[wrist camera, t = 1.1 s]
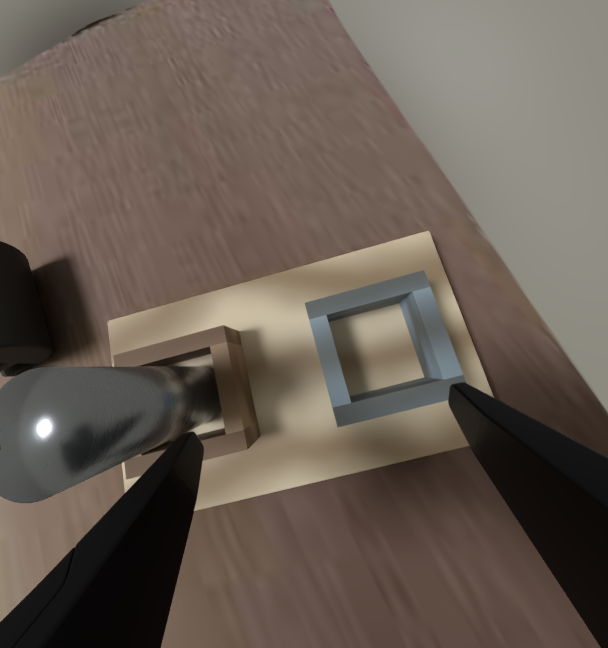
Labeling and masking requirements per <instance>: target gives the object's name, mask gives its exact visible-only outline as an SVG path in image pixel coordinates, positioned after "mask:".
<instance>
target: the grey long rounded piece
mask: <svg viewBox="0 0 608 648" xmlns="http://www.w3.org/2000/svg"><path fill="white" fill-rule="evenodd" d="M221 411H222V410H221V404H220V399H219V393H218V388H217V382H216V377H215V371H214V369H212V368H210V367H206V366H135V367H39V368H34V369H31V370H28V371H25V372H23V373H21V374H19V375H17V376H16V377H14V378H12V379H11V380H10V381H9V382H7V383H6V384H5V385H4V386H3V387H2V388H1V389H0V496H1V497H3V498H5V499H7V500H10V501H13V502H18V503H33V502H38V501H41V500H44V499H47V498H49V497H51V496H53V495H55V494H57V493H59V492H62V491H64V490H66V489H68V488H70V487H72V486H74V485H76V484H78V483H81V482H83V481H85V480H87V479H89V478H91V477H93V476H95V475H97V474H99V473H102V472H104V471H106V470H108V469H110V468H112V467H114V466H116V465H118V464H121V463H123V462H125V461H127V460H129V459H131V458H133V457H135V456H137V455H140V454H142V453H144V452H146V451H148V450H150V449H152V448H154V447H156V446H158V445H161V444H163V443H165V442H167V441H169V440H171V439H173V438H175V437H177V436H180V435H181V434H182V433H185V432H188V431H190V430H192V429H194V428H196V427H199V426H201V425H203V424H205V423H207V422H209V421H211V420H213V419H214V418H215V417H217V416H218V414H219V413H220V412H221Z"/></svg>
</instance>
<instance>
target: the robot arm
mask: <svg viewBox="0 0 608 648" xmlns="http://www.w3.org/2000/svg"><path fill="white" fill-rule="evenodd" d="M448 404H449V407H450V409H451V411H452V413H453V415H454V417H455V419H456V421H457V423H458V425H459V426H460V428H461V430H462V432H463V434H464V436H465V438H466V440H467V442H468V444H469V446H470V447H471V449H472V451H473V453H474V454H475V456H476V458H477V459H478V461H479V462H480V464H481V465H482V467H483V468H484V470H485V471H486V473H487V474H488V476H489V478H490V479H491V481H492V482H493V484H494V485H495V487H496V488H497V490H498V491H499V493H500V494H501V496H502V497H503V499H504V500H505V502H506V503H507V505H508V507H509V508H510V510H511V511H512V513H513V514H514V516H515V517H516V519H517V520H518V522H519V523H520V525H521V526H522V528H523V529H524V531H525V532H526V534H527V535H528V537H529V539H530V540H531V542H532V543H533V545H534V546H535V548H536V549H537V551H538V552H539V554H540V555H541V557H542V558H543V560H544V561H545V563H546V564H547V566H548V568H549V569H550V571H551V572H552V574H553V575H554V577H555V578H556V580H557V581H558V583H559V584H560V586H561V587H562V589H563V590H564V592H565V593H566V595H567V597H568V598H569V600H570V601H571V603H572V604H573V606H574V607H575V609H576V610H577V612H578V613H579V615H580V616H581V618H582V619H583V621H584V622H585V624H586V625H587V627H588V629H589V630H590V632H591V633H592V635H593V636H594V638H595V639H596V641H597V642H598V644H599V645H600V647H601V648H608V457H606V456H604V455H602V454H600V453H598V452H596V451H594V450H592V449H591V448H589V447H587V446H585V445H583V444H581V443H579V442H577V441H575V440H573V439H572V438H570V437H568V436H566V435H564V434H562V433H560V432H558V431H556V430H554V429H553V428H551V427H549V426H547V425H545V424H543V423H541V422H539V421H537V420H535V419H534V418H532V417H530V416H528V415H526V414H524V413H522V412H520V411H518V410H516V409H515V408H513V407H511V406H509V405H507V404H505V403H503V402H501V401H499V400H497V399H496V398H494V397H492V396H490V395H488V394H486V393H484V392H482V391H480V390H478V389H477V388H475V387H473V386H471V385H469V384H467V383H464V382H460V383H454V384H451V385H450V389H449V398H448ZM203 456H204V446H203V444H202V442H201V441H200V439H199V438H198V436H197V435H196V433H195V432H193V431H191V432H185V433H182V434H181V435H180V436H179V437H178V438H177V439H176V440H175V441H174V442H173V443H172V444H171V445H170V446H169V447H168V448H167V449H166V450H165V451H164V452H163V453H162V455H161V456H160V457H159V458H158V459H157V460H156V461H155V462H154V463H153V464H152V465H151V466H150V467H149V468H148V469H147V470H146V471H145V473H144V474H143V475H142V476H141V477H140V478H139V479H138V480H137V481H136V482H135V483H134V484H133V485H132V486H131V487H130V488H129V489H128V491H127V492H126V493H125V494H124V495H123V496H122V497H121V498H120V499H119V500H118V501H117V502H116V503H115V504H114V505H113V506H112V507H111V509H110V510H109V511H108V512H107V513H106V514H105V515H104V516H103V517H102V518H101V519H100V520H99V521H98V522H97V523H96V524H95V525H94V526H93V528H92V529H91V530H90V531H89V532H88V533H87V534H86V535H85V536H84V537H83V538H82V539H81V540H80V541H79V542H78V543H77V545H76V547H75V548H73V549H72V550H71V551H70V552H69V553H68V554H67V555H66V556H65V557H64V558H63V559H62V560H61V561H60V562H59V563H58V564H57V566H56V567H55V568H54V569H53V570H52V571H51V572H50V573H49V574H48V575H47V576H46V577H45V578H44V579H43V580H42V581H41V582H40V583H39V584H38V585H37V586H36V587H35V588H34V589H33V590H32V591H31V592H30V593H29V594H28V595H27V596H26V597H25V598H24V599H23V600H22V601H21V602H20V603H19V604H18V605H17V606H16V607H15V608H14V609H13V610H12V611H11V612H10V613H9V614H8V615H7V616H6V617H5V618H4V619H3V620H2V621H1V622H0V648H161V644H162V640H163V636H164V632H165V628H166V623H167V619H168V615H169V611H170V607H171V603H172V599H173V595H174V591H175V587H176V583H177V578H178V574H179V570H180V566H181V562H182V558H183V554H184V550H185V546H186V542H187V538H188V533H189V529H190V525H191V521H192V517H193V513H194V509H195V505H196V500H197V495H198V489H199V483H200V476H201V469H202V462H203Z"/></svg>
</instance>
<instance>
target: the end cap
mask: <svg viewBox="0 0 608 648" xmlns="http://www.w3.org/2000/svg"><path fill="white" fill-rule="evenodd" d="M52 353H53V349H52V346H51V342H50V338H49V335H48V331H47V327H46V324H45V320H44V316H43V313H42V309H41V305H40V301H39V298H38V294H37V290H36V287H35V283H34V279H33V276H32V272H31V269H30V266H29V262H28V259H27V258H26V256H25V255H24V254H23V253H22V252H21V251H20V250H18V249H17V248H15V247H13V246H11V245H9V244H6V243H4V242H1V241H0V372H1V374H2V376H5V377H7V376H16V375H18V374H20V373H22V372H24V371H25V370H27V369H29V368H31V367H33V366H35V365H37V364H39V363H42V362H43V361H45V360H47V359H48V358H50V357H51V356H52Z"/></svg>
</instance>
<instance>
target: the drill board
mask: <svg viewBox="0 0 608 648" xmlns="http://www.w3.org/2000/svg"><path fill="white" fill-rule="evenodd" d="M108 330H109V340H110V350H111V360H112V367H135V366H206V367H210V368H212V369H214V371H215V377H216V382H217V388H218V393H219V399H220V404H221V410H222V411H221V412H220V413H219V414H218V416H217V417H215V418H214V419H213V420H211V421H209V422H207V423H205V424H203V425H201V426H199V427H196V428H194V429H192V430H190V431H188V432H191V431H193V432H195V433H196V435H197V436H198V438H199V439H200V441H201V442H202V444H203V446H204V456H203V462H202V469H201V476H200V483H199V489H198V495H197V500H196V505H195V509H194V511H196V510H200V509H204V508H209V507H213V506H217V505H221V504H226V503H230V502H234V501H238V500H242V499H247V498H251V497H255V496H259V495H264V494H268V493H272V492H276V491H280V490H285V489H289V488H293V487H297V486H302V485H306V484H310V483H314V482H319V481H323V480H327V479H331V478H335V477H340V476H344V475H348V474H352V473H357V472H361V471H365V470H369V469H373V468H378V467H382V466H386V465H390V464H395V463H399V462H403V461H407V460H412V459H416V458H420V457H424V456H428V455H433V454H437V453H441V452H445V451H450V450H454V449H458V448H462V447H466V446H469V444H468V442H467V440H466V438H465V436H464V434H463V432H462V430H461V428H460V426H459V425H458V423H457V421H456V419H455V417H454V415H453V413H452V411H451V409H450V407H449V404H448V398H449V389H450V385H451V384H454V383H460V382H464V383H467V384H469V385H471V386H473V387H475V388H477V389H478V390H480V391H482V392H484V393H486V394H488V395H490V396H492V397H494V396H493V394H492V391H491V389H490V386H489V384H488V381H487V378H486V376H485V373H484V371H483V368H482V366H481V363H480V361H479V358H478V355H477V353H476V350H475V348H474V345H473V343H472V340H471V337H470V335H469V332H468V330H467V327H466V325H465V322H464V319H463V317H462V314H461V312H460V309H459V307H458V304H457V302H456V299H455V296H454V294H453V291H452V289H451V286H450V284H449V281H448V278H447V276H446V273H445V271H444V268H443V266H442V263H441V261H440V258H439V255H438V253H437V250H436V248H435V245H434V243H433V240H432V237H431V235H430V232H429V231H426V232H422V233H418V234H415V235H411V236H408V237H404V238H401V239H397V240H394V241H390V242H387V243H383V244H380V245H376V246H372V247H369V248H365V249H362V250H358V251H355V252H351V253H348V254H344V255H341V256H337V257H333V258H330V259H326V260H323V261H319V262H316V263H312V264H309V265H305V266H302V267H298V268H294V269H291V270H287V271H284V272H280V273H277V274H273V275H270V276H266V277H263V278H259V279H255V280H252V281H248V282H245V283H241V284H238V285H234V286H231V287H227V288H224V289H220V290H216V291H213V292H209V293H206V294H202V295H199V296H195V297H192V298H188V299H185V300H181V301H178V302H174V303H170V304H167V305H163V306H160V307H156V308H153V309H149V310H146V311H142V312H139V313H135V314H131V315H128V316H124V317H121V318H117V319H114V320H110V321H108ZM178 437H179V436H177V437H175V438H173V439H171V440H169V441H167V442H165V443H163V444H161V445H158V446H156V447H154V448H152V449H150V450H148V451H146V452H144V453H142V454H140V455H137V456H135V457H133V458H131V459H129V460H127V461H125V462H123V463H122V467H123V477H124V487H125V493H126V492H127V491H128V489H129V488H130V487H131V486H132V485H133V484H134V483H135V482H136V481H137V480H138V479H139V478H140V477H141V476H142V475H143V474H144V473H145V471H146V470H147V469H148V468H149V467H150V466H151V465H152V464H153V463H154V462H155V461H156V460H157V459H158V458H159V457H160V456H161V455H162V453H163V452H164V451H165V450H166V449H167V448H168V447H169V446H170V445H171V444H172V443H173V442H174V441H175V440H176V439H177V438H178Z"/></svg>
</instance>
